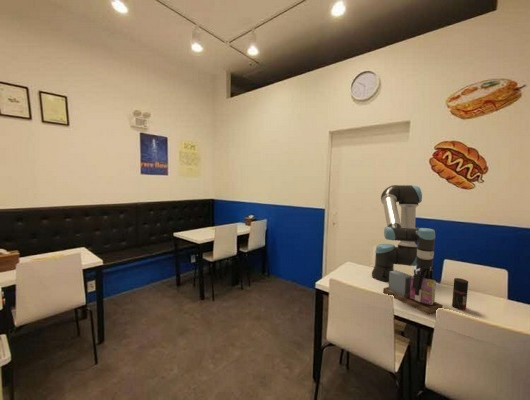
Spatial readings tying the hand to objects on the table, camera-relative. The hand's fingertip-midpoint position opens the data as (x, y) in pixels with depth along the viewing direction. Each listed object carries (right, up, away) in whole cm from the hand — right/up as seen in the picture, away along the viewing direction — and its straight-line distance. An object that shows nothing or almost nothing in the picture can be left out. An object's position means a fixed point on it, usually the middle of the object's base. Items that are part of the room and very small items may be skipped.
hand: (421, 299), depth 133 cm
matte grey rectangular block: (-6, -2, +12) cm, 13 cm away
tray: (-3, -3, +6) cm, 7 cm away
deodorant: (+19, -4, -1) cm, 20 cm away
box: (0, -1, 0) cm, 1 cm away
